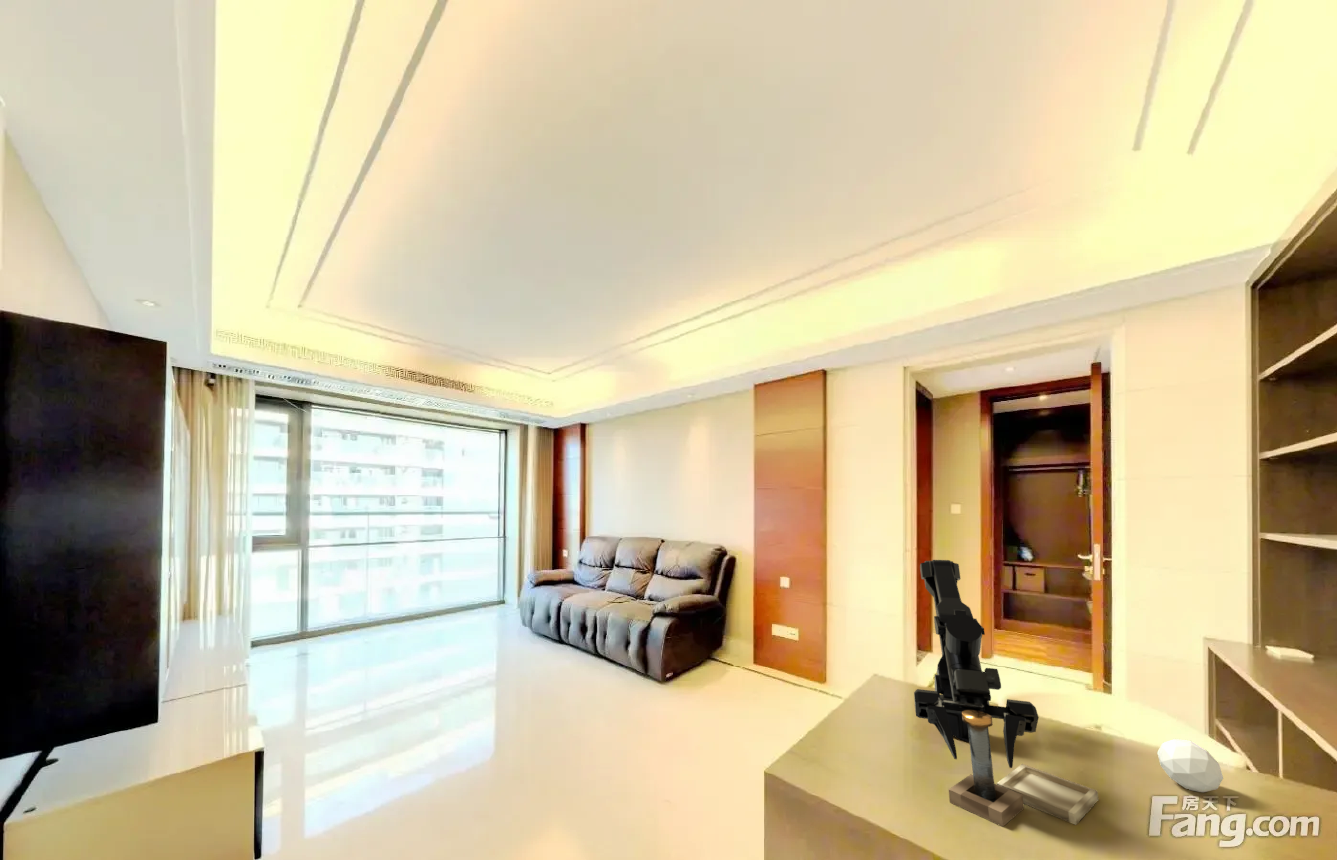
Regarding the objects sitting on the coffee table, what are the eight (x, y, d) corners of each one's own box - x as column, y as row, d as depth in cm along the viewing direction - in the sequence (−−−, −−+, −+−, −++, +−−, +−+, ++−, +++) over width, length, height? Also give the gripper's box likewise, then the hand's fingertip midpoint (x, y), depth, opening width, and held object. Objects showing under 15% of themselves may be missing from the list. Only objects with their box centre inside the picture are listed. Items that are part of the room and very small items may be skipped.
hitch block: (972, 786, 87) (970, 774, 88) (1023, 808, 81) (1022, 795, 81) (949, 802, 83) (948, 789, 83) (1003, 826, 76) (1001, 812, 77)
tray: (1023, 772, 92) (1022, 763, 92) (1098, 800, 83) (1097, 790, 83) (997, 792, 85) (996, 783, 86) (1076, 825, 76) (1074, 814, 77)
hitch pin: (978, 794, 85) (969, 708, 87) (1006, 807, 81) (996, 716, 84) (966, 804, 82) (956, 714, 85) (995, 817, 79) (984, 723, 81)
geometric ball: (1181, 798, 87) (1156, 747, 93) (1241, 798, 82) (1212, 743, 88) (1164, 787, 85) (1140, 734, 90) (1226, 785, 80) (1197, 730, 85)
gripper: (909, 643, 93) (919, 731, 81) (1027, 653, 86) (1057, 750, 74) (911, 675, 99) (920, 760, 87) (1021, 686, 92) (1048, 781, 80)
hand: (982, 762), depth 82 cm, fingers open, 8 cm apart
